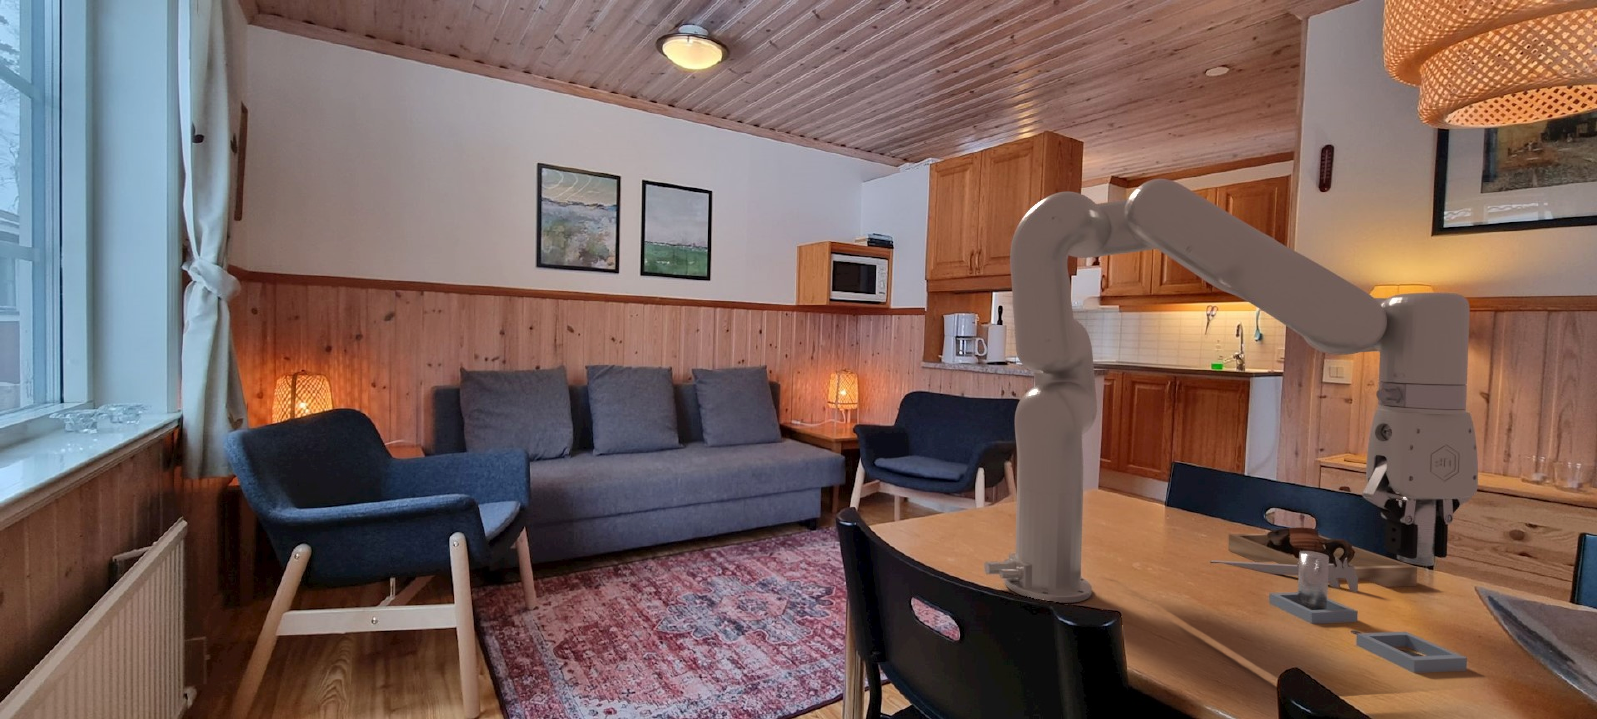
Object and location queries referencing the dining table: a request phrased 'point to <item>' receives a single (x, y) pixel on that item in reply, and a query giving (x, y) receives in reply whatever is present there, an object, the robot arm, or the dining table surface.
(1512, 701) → the dining table surface
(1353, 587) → the caliper
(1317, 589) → the seated pin
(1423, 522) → the steel pin
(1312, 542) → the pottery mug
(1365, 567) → the brown elongated piece
